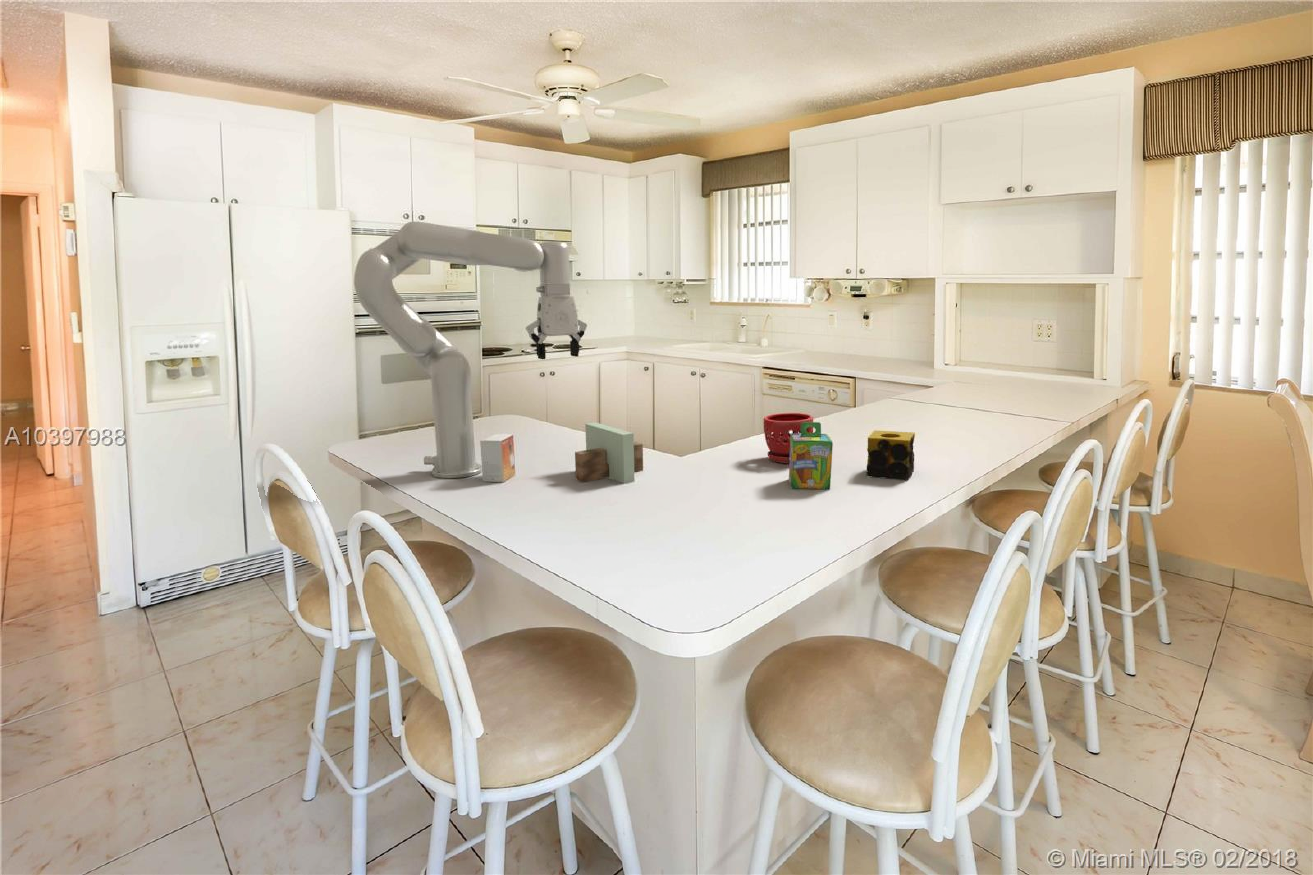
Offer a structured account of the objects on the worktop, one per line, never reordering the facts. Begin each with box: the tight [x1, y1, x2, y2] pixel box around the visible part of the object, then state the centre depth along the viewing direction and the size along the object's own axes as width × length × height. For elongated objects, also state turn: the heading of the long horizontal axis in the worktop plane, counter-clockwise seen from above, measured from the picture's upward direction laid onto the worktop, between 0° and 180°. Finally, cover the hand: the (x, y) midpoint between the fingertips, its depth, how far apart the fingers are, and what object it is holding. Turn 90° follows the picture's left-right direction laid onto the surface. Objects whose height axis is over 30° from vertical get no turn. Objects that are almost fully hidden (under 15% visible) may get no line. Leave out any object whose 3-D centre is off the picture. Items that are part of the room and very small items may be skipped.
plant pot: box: [763, 412, 814, 465], centre depth 198 cm, size 13×13×12 cm
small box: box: [479, 433, 516, 483], centre depth 184 cm, size 8×6×10 cm
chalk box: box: [788, 421, 834, 490], centre depth 173 cm, size 9×9×15 cm
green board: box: [584, 421, 636, 484], centre depth 185 cm, size 18×3×12 cm, turn 35°
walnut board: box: [574, 441, 644, 483], centre depth 185 cm, size 18×3×7 cm, turn 125°
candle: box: [866, 430, 916, 481], centre depth 182 cm, size 10×10×10 cm
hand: (558, 357), depth 194 cm, fingers open, 9 cm apart
